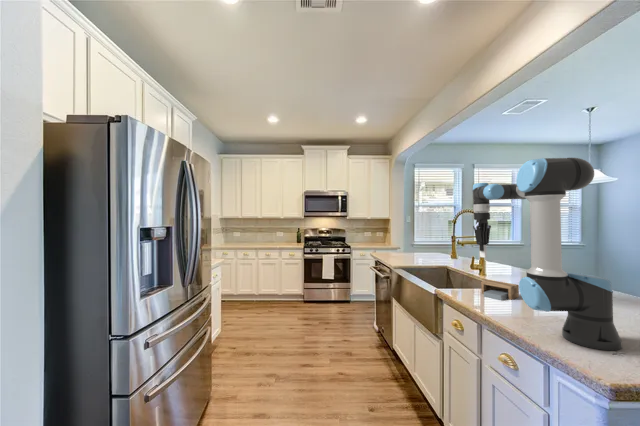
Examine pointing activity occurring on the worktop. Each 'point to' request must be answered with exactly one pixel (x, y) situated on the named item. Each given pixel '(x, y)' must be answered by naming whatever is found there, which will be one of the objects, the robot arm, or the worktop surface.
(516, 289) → the tan wooden channel
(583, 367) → the worktop surface
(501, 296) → the tile
